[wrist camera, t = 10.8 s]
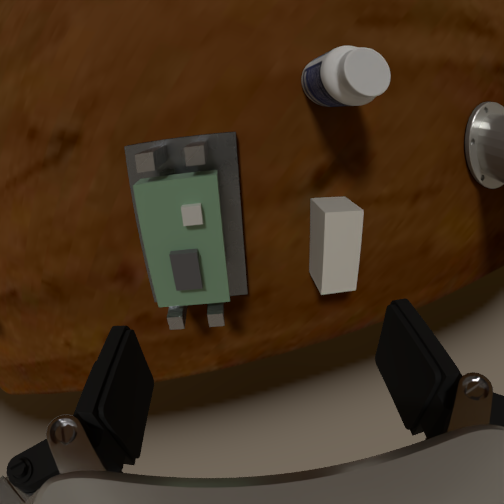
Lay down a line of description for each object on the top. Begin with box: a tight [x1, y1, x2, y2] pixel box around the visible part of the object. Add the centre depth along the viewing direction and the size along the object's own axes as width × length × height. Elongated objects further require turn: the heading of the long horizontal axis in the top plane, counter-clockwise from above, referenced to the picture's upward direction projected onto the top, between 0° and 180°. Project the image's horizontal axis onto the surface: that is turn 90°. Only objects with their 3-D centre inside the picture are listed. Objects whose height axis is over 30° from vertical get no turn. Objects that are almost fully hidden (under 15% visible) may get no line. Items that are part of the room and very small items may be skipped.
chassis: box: [125, 132, 248, 330], centre depth 29 cm, size 11×18×7 cm, turn 3°
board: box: [133, 170, 230, 307], centre depth 27 cm, size 7×12×3 cm, turn 3°
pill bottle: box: [302, 46, 390, 107], centre depth 22 cm, size 5×5×10 cm
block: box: [309, 197, 364, 295], centre depth 32 cm, size 4×9×5 cm, turn 3°
